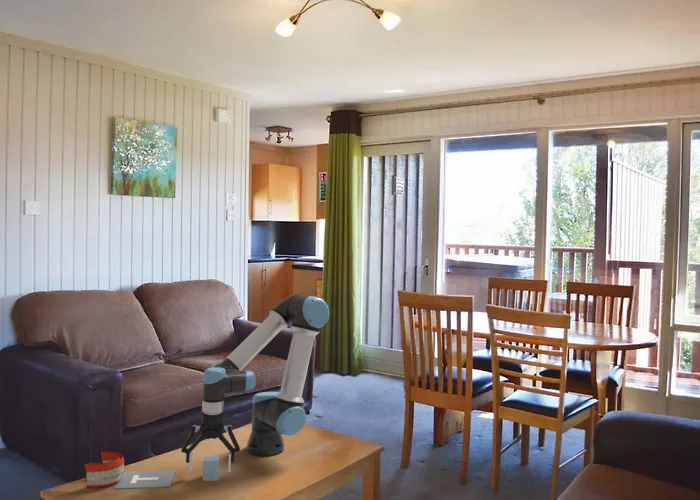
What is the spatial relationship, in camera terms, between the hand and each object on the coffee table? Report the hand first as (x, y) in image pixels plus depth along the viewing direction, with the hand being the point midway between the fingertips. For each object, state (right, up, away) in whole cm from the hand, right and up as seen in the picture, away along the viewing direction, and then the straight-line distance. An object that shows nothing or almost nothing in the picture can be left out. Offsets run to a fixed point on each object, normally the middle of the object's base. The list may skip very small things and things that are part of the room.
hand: (209, 471), depth 209 cm
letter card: (-21, -2, -3) cm, 22 cm away
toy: (-34, -1, -6) cm, 34 cm away
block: (0, -2, 0) cm, 2 cm away
